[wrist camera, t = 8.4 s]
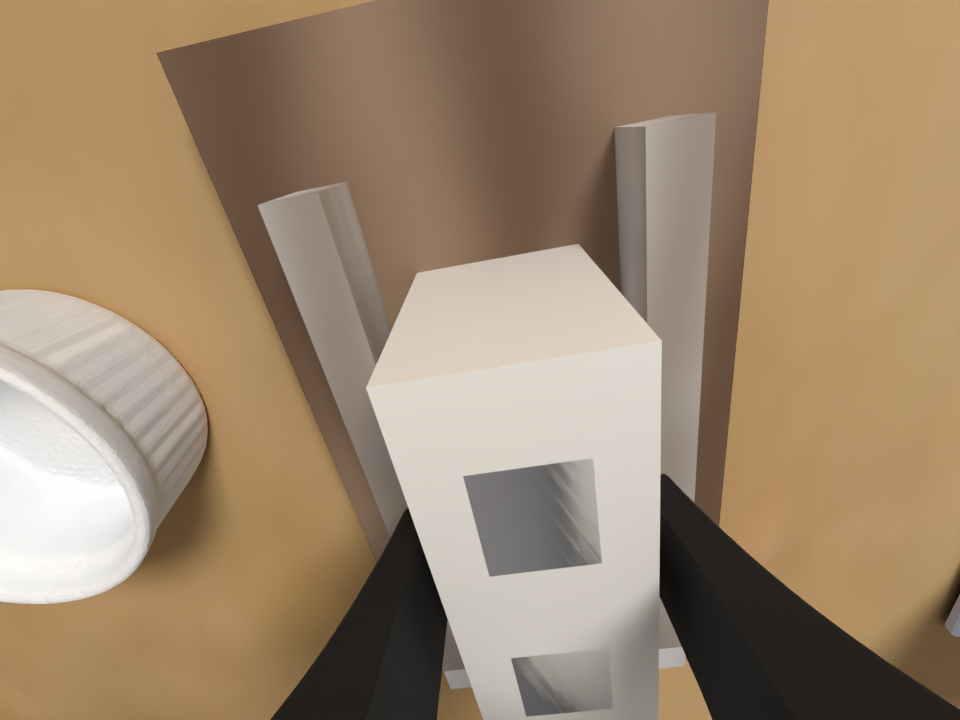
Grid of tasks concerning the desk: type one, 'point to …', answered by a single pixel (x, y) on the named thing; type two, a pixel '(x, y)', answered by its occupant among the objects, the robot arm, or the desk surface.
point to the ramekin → (86, 445)
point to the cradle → (488, 190)
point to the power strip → (533, 478)
